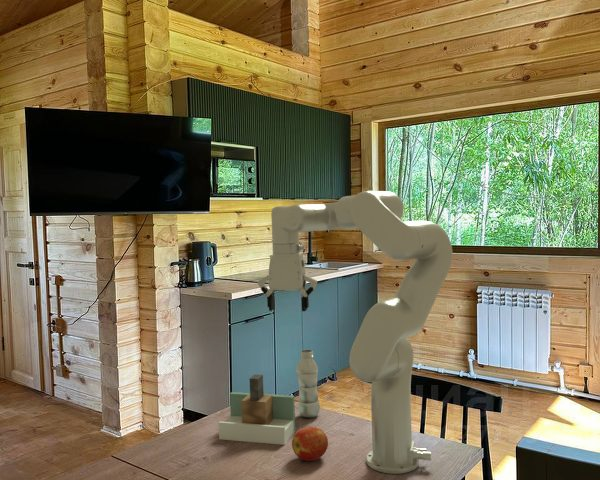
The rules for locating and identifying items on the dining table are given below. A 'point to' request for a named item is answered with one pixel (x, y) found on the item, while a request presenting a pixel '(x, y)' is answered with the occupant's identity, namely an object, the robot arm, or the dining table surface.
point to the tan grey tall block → (257, 404)
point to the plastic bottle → (307, 385)
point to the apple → (309, 443)
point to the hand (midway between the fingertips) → (288, 310)
